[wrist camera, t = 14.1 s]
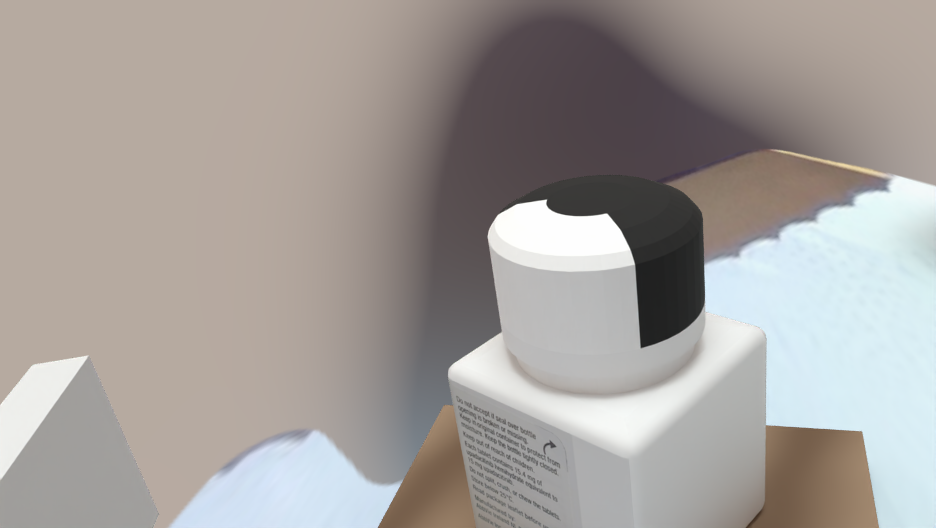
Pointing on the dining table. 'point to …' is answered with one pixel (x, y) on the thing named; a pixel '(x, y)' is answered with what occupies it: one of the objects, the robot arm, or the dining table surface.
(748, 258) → the dining table surface
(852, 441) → the serving board
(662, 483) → the container
